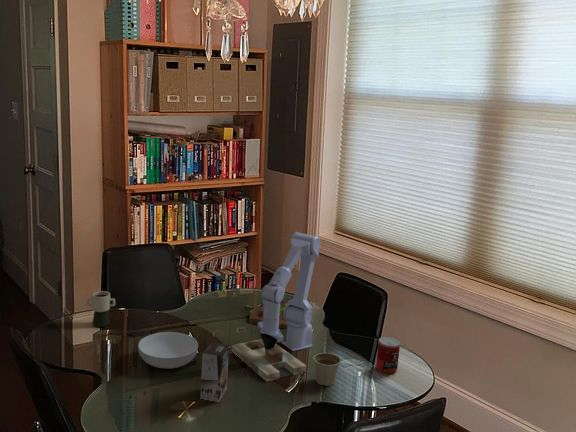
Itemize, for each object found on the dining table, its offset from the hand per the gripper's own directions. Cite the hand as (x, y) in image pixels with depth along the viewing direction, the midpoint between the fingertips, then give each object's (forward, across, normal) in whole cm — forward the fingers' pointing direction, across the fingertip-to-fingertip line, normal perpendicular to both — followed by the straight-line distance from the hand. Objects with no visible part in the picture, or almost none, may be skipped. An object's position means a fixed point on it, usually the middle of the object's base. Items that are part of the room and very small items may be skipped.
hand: (268, 352), depth 236 cm
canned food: (+4, +23, +36) cm, 43 cm away
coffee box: (+4, +12, -28) cm, 31 cm away
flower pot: (+4, +21, +10) cm, 24 cm away
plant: (+4, -34, +23) cm, 41 cm away
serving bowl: (+4, -16, -32) cm, 36 cm away
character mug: (+4, -57, -43) cm, 71 cm away
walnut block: (+1, +4, 0) cm, 4 cm away
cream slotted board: (+4, -1, 0) cm, 4 cm away
